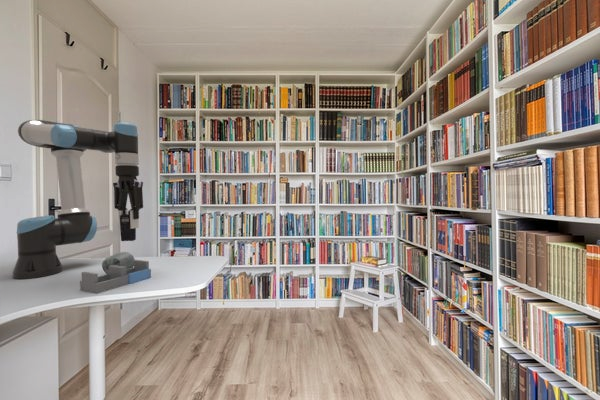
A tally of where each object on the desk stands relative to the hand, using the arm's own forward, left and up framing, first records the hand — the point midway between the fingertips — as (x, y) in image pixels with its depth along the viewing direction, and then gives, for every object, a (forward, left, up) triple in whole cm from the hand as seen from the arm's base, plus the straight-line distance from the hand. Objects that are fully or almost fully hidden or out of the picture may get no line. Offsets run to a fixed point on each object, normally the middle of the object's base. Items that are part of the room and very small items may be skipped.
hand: (129, 227), depth 112 cm
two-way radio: (0, 0, -5) cm, 5 cm away
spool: (-13, +4, -20) cm, 24 cm away
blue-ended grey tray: (0, -5, -19) cm, 20 cm away
